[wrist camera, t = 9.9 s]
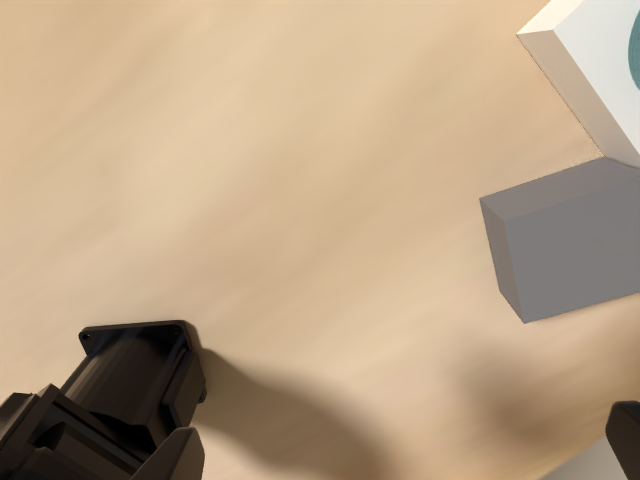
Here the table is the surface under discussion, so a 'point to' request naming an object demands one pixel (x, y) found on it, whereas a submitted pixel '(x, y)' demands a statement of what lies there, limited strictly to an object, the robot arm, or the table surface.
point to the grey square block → (566, 238)
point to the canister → (635, 51)
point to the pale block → (591, 68)
